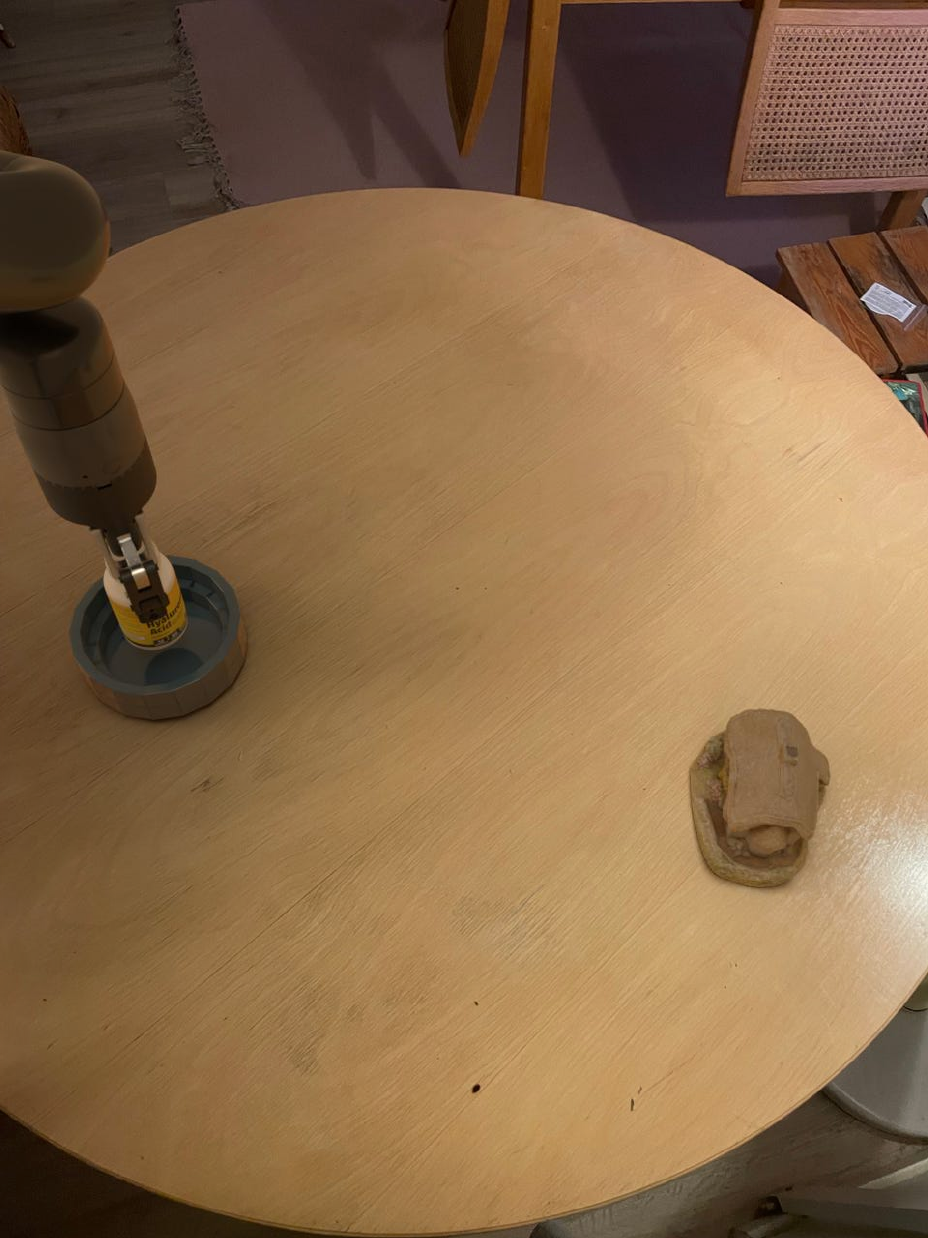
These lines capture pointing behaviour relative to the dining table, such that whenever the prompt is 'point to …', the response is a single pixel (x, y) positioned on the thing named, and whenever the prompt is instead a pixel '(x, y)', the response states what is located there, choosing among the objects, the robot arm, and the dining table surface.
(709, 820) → the ceramic model
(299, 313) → the dining table surface
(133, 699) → the bowl
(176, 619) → the supplement bottle
